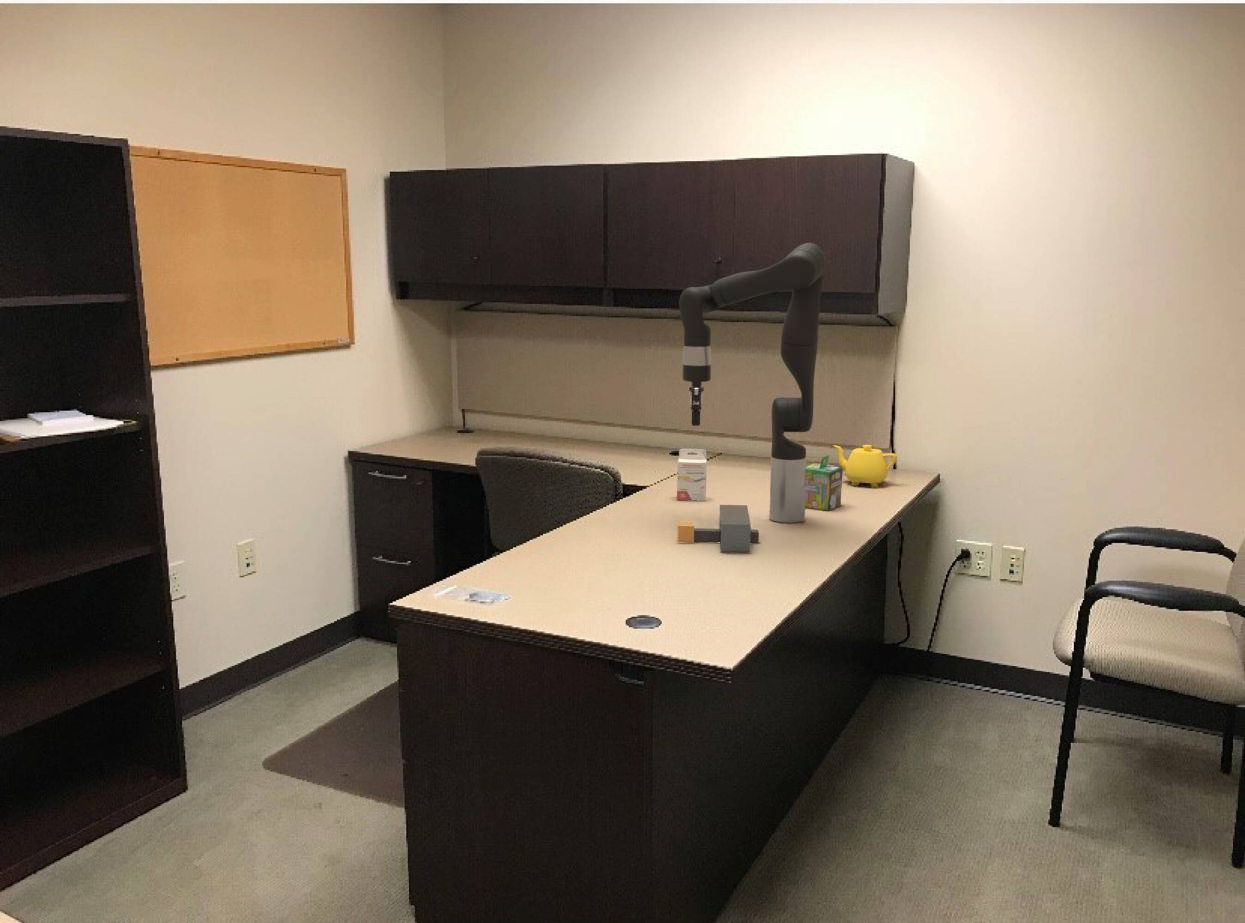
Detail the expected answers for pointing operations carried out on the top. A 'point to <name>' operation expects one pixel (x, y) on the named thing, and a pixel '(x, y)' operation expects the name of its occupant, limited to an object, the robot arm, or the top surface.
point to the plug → (705, 534)
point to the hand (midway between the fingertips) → (695, 423)
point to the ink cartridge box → (691, 475)
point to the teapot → (866, 465)
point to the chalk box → (823, 485)
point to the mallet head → (734, 528)
